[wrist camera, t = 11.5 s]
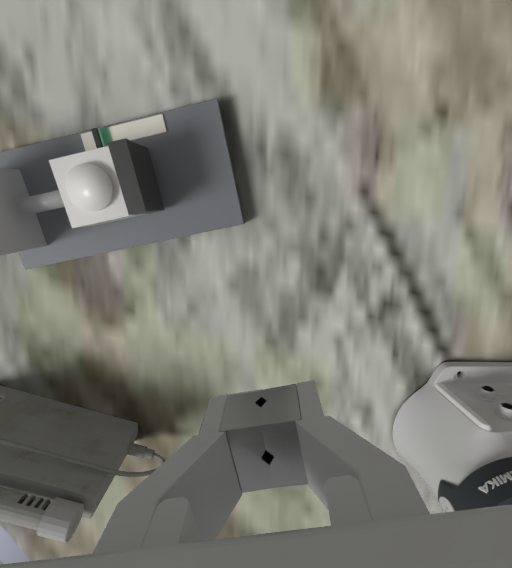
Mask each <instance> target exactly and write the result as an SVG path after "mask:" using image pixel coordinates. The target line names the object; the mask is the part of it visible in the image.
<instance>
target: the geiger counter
mask: <svg viewBox="0 0 512 568" xmlns="http://www.w3.org/2000/svg"><path fill="white" fill-rule="evenodd" d="M137 435H138V423H136V422H133V421H129V420H126V419H122V418H118V417H115V416H111V415H107V414H104V413H100V412H96V411H93V410H89V409H85V408H82V407H78V406H74V405H71V404H67V403H64V402H60V401H56V400H53V399H49V398H45V397H42V396H38V395H34V394H31V393H27V392H23V391H20V390H16V389H12V388H9V387H5V386H2V385H0V521H4V522H7V523H11V524H15V525H19V526H23V527H27V528H30V529H34V530H37V535H38V536H42V537H46V538H49V539H53V540H57V541H61V542H65V543H66V542H68V541H69V540H70V538H71V537H72V535H73V534H74V532H75V530H76V528H77V526H78V524H79V522H80V520H81V517H85V518H89V519H90V518H91V517H92V515H93V514H94V512H95V510H96V508H97V507H98V505H99V503H100V501H101V500H102V498H103V496H104V494H105V492H106V491H107V489H108V487H109V485H110V484H111V482H112V480H113V478H114V476H115V475H119V476H127V477H140V476H147V475H150V474H152V473H153V472H154V471H155V470H156V469H157V468H156V469H154V470H150V471H145V472H125V471H119V470H118V469H119V468H120V466H121V464H122V462H123V460H124V459H125V457H126V455H127V454H129V455H133V456H136V457H140V458H143V457H145V458H149V459H152V458H153V457H155V458H157V459H159V460H160V461H161V462H162V463H164V462H165V461H166V460H165V459H164V458H163V457H162V456H160V455H158V454H156V453H154V452H155V450H152V449H148V448H147V447H145V446H142V445H138V444H134V441H135V439H136V437H137Z"/></svg>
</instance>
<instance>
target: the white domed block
mask: <svg viewBox="0 0 512 568" xmlns="http://www.w3.org/2000/svg"><path fill="white" fill-rule="evenodd" d="M91 131H92V134H93V138H94V141H95V144H96V147H97V149H93V150H89V151H85V152H81V153H77V154H72V155H68V156H64V157H60V158H56V159H52V160H49V163H50V166H51V169H52V171H53V174H54V177H55V180H56V183H57V186H58V189H59V190H56V191H51V192H47V193H43V194H38V195H34V196H30V197H25V198H21V199H20V201H19V205H20V208H21V209H22V211H23V212H24V213H26V214H28V215H31V214H35V213H39V212H44V211H48V210H53V209H57V208H62V207H65V209H66V212H67V215H68V218H69V221H70V224H71V227H72V228H78V227H86V226H93V225H99V224H103V223H108V222H112V221H117V220H122V219H126V218H131V217H135V216H140V215H145V214H149V213H154V212H158V211H163V210H165V209H164V205H163V202H162V198H161V194H160V191H159V187H158V183H157V179H156V176H155V172H154V168H153V165H152V161H151V157H150V153H149V150H148V148H147V147H144V146H142V145H140V144H137V143H135V142H133V141H131V140H128V139H126V138H124V139H120V140H116V141H112V142H108V143H107V144H108V146H106V147H103V144H102V141H101V137H100V134H99V131H98V129H97V128H95V129H91Z"/></svg>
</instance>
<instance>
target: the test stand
mask: <svg viewBox="0 0 512 568" xmlns="http://www.w3.org/2000/svg"><path fill="white" fill-rule="evenodd" d="M97 129H98V131H99V134H100V137H101V141H102V144H103V147H106V146H108V144H107V143H108V142H112V141H116V140H120V139H124V138H126V139H128V140H131V141H133V142H135V143H137V144H140V145H142V146H144V147H147V148H148V150H149V153H150V157H151V161H152V165H153V168H154V172H155V176H156V179H157V183H158V187H159V191H160V194H161V198H162V202H163V205H164V209H165V210H163V211H158V212H154V213H149V214H145V215H140V216H135V217H131V218H126V219H122V220H117V221H112V222H108V223H103V224H99V225H93V226H86V227H78V228H72V227H71V224H70V221H69V218H68V215H67V212H66V209H65V207H62V208H57V209H53V210H48V211H44V212H39V213H35V214H31V215H28V214H26V213H24V212H23V211H22V209H21V208H20V205H19V201H20V199H21V198H25V197H30V196H34V195H38V194H43V193H47V192H51V191H56V190H59V189H58V186H57V183H56V180H55V177H54V174H53V171H52V169H51V166H50V163H49V160H52V159H56V158H60V157H64V156H68V155H72V154H77V153H81V152H85V151H89V150H93V149H97V147H96V144H95V141H94V138H93V134H92V131H91V130H88V131H84V132H80V133H76V134H72V135H68V136H64V137H60V138H56V139H52V140H48V141H44V142H40V143H36V144H32V145H28V146H24V147H20V148H16V149H12V150H8V151H4V152H0V255H5V254H10V253H15V252H19V255H20V257H21V260H22V262H23V265H24V267H25V269H29V268H34V267H39V266H44V265H49V264H53V263H58V262H63V261H68V260H73V259H77V258H82V257H87V256H92V255H97V254H101V253H106V252H111V251H116V250H121V249H125V248H130V247H135V246H140V245H145V244H149V243H154V242H159V241H164V240H169V239H173V238H178V237H183V236H188V235H193V234H197V233H202V232H207V231H212V230H217V229H221V228H226V227H231V226H236V225H241V224H244V223H245V222H244V218H243V213H242V208H241V203H240V199H239V194H238V189H237V185H236V180H235V175H234V170H233V166H232V161H231V156H230V152H229V147H228V142H227V137H226V133H225V128H224V123H223V119H222V114H221V109H220V104H219V102H218V100H217V99H214V100H210V101H206V102H202V103H198V104H194V105H190V106H186V107H181V108H177V109H173V110H169V111H165V112H161V113H157V114H153V115H149V116H145V117H141V118H137V119H133V120H129V121H125V122H121V123H117V124H113V125H109V126H105V127H101V128H97Z"/></svg>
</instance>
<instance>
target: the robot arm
mask: <svg viewBox="0 0 512 568" xmlns="http://www.w3.org/2000/svg"><path fill="white" fill-rule="evenodd" d="M459 371H461V372H460V373H459V374H457V373H458V372H459ZM393 441H394V445H395V448H396V450H397V452H398V454H399V455H400V457H401V458H402V459H403V460H404V461H405V462H406V463H407V464H408V465H409V466H410V467H411V468H412V469H413V470H414V471H415V472H416V473H417V474H418V476H419V477H420V478H421V479H422V481H423V482H424V483H425V484H426V486H427V487H428V488H429V490H430V491H431V493H432V494H433V495H434V497H435V498H436V499H437V501H438V502H439V506H440V509H441V512H442V513H436V514H430V513H429V511H428V509H427V507H426V505H425V503H424V501H423V500H422V498H421V496H420V494H419V492H418V490H417V488H416V486H415V484H414V482H413V480H412V478H411V476H410V474H409V472H408V470H407V468H406V466H404V465H403V464H401V463H400V462H398V461H397V460H395V459H394V458H392V457H391V456H389V455H388V454H386V453H385V452H383V451H382V450H380V449H379V448H377V447H376V446H374V445H373V444H371V443H370V442H368V441H366V440H365V439H363V438H362V437H360V436H359V435H357V434H356V433H354V432H353V431H351V430H350V429H348V428H347V427H345V426H344V425H342V424H341V423H339V422H338V421H336V420H335V419H333V418H332V417H330V416H324V415H323V411H322V407H321V403H320V399H319V395H318V391H317V387H316V383H315V381H314V380H312V381H307V382H302V383H297V385H296V384H292V385H286V386H281V387H276V388H270V389H265V390H263V389H262V390H255V391H248V392H240V393H233V394H229V395H228V394H225V395H219V396H214V397H211V398H210V400H209V403H208V406H207V409H206V413H205V416H204V419H203V422H202V426H201V429H200V432H199V435H197V436H193V437H192V438H191V439H190V440H188V441H187V442H186V443H185V444H184V445H183V446H182V447H181V448H180V449H178V450H177V451H176V452H175V453H174V454H173V455H172V456H171V457H169V458H168V459H167V460H166V461H165V462H164V463H163V464H162V465H160V466H159V467H158V468H157V469H156V470H155V471H154V472H153V473H152V474H150V475H149V476H148V477H147V478H146V479H145V480H144V481H143V482H141V483H140V484H139V485H138V486H137V487H136V488H135V489H134V490H133V491H131V492H130V493H129V494H128V495H127V496H126V497H125V498H124V499H122V500H121V501H120V502H119V503H118V504H117V506H116V508H115V510H114V512H113V514H112V516H111V518H110V520H109V522H108V524H107V526H106V528H105V530H104V532H103V534H102V536H101V538H100V540H99V542H98V544H97V546H96V548H95V550H94V552H93V554H88V555H79V556H71V557H62V558H54V559H46V560H37V561H29V562H20V563H12V564H2V565H0V568H512V362H444V363H442V364H440V365H439V366H438V367H437V368H436V370H435V371H434V372H433V374H432V376H431V377H430V379H429V381H428V382H427V383H426V384H425V385H424V386H423V387H422V388H420V389H419V390H418V391H417V392H415V393H414V394H413V395H412V396H410V397H409V398H408V399H407V401H406V402H405V403H404V404H403V405H402V407H401V408H400V410H399V412H398V414H397V416H396V418H395V422H394V426H393ZM305 484H308V485H309V487H310V488H311V489H312V491H313V492H314V493H315V494H316V495H317V497H318V498H319V499H320V500H321V502H322V503H323V504H324V505H325V506H326V508H327V509H328V510H329V515H330V521H331V526H326V527H317V528H309V529H300V530H291V531H283V532H274V533H266V534H257V535H248V536H240V537H231V538H223V539H215V538H216V537H217V535H218V533H219V532H220V530H221V529H222V527H223V525H224V524H225V522H226V520H227V519H228V517H229V515H230V514H231V512H232V511H233V509H234V507H235V506H236V504H237V502H238V501H239V499H240V497H241V496H242V493H244V492H250V491H256V490H262V489H269V488H275V487H285V486H295V485H305Z"/></svg>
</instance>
